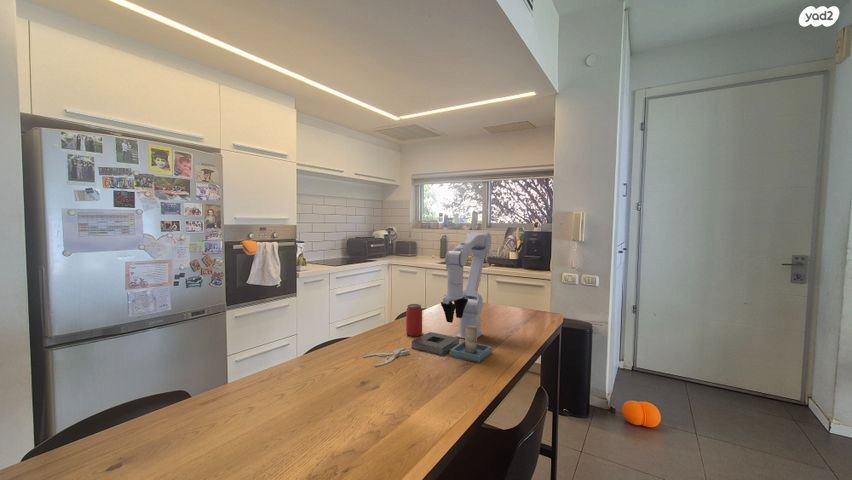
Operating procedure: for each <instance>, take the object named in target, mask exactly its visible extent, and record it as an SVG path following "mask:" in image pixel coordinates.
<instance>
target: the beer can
mask: <svg viewBox="0 0 852 480" xmlns="http://www.w3.org/2000/svg"><path fill="white" fill-rule="evenodd" d="M405 314H406V316H405V317H406V318H405V319H406V320H405V321H406V322H405V323H406V324H405V331H406V332H405V334H406V335H407V336H411V337H420V336H422V334H423V308H422V305H421V304H418V303H411V304H408V305H407V307H406V311H405Z"/></svg>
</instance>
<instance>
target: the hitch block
mask: <svg viewBox="0 0 852 480" xmlns="http://www.w3.org/2000/svg"><path fill="white" fill-rule="evenodd" d="M458 344H460V338H459V337H456V336H452V335H447V334H443V333H437V332H432V331H429V332H427V333H425V334H423V335H420V336H418V338H417V337H416V339H414V340H411V349H414V350H418V351H422V352H426V353H430V354H435V355H438V356H443V355H445V354H447V353H448V352H450V349H452V348H453V347H455V346H457V345H458Z"/></svg>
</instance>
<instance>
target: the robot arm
mask: <svg viewBox="0 0 852 480" xmlns="http://www.w3.org/2000/svg"><path fill="white" fill-rule="evenodd" d="M465 235H466V236H465V241H461V242H459V243H458V245H457V246H455V248H454V249H453V250H448V252H446V254H445V258H444V261H445V262H444V263H445V265H446V267H445V268H446V271H447V282H446V283H447V286H446V289H447V292H446V293H445V294H444V297H442V301H441V302H440V306H441V308H442V310H443V313H444V315H445V319H446V323H450V324H451V323H453V321H454V317H456V318H457V319H459V333H458V334H457V333H456V335H455V337H457V338H459V339H460V338H461V339H465V333H466V326H476V327H477V338H479V337H481V336H482V335H483V334H484V333H483V332H482V331H481V326H482V323H481V322H482V321H481V320H482V319H481V316H480V315H481V314H482V312H483V301H484V299H483V297H482V295H481V294H480V293H479V292H478V290H479V287H480V282H481V276H482V273H483V272H482V271H483V266H484V264H485V263H484V262H485V259H486V256H487V255H489V253H490V251H491V247H492V246H491V245H492V235H491V233H490V232H471V231H468V232H467V233H466V234H465ZM470 255H472V260H471V264H470V269H469V274H468V277H467V278H468V279H467V284H466V287H465V290H464V267H465V266H466V264H467V261H468V257H469V256H470ZM454 315H455V316H454Z"/></svg>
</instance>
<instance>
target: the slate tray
mask: <svg viewBox="0 0 852 480" xmlns="http://www.w3.org/2000/svg"><path fill="white" fill-rule="evenodd" d="M492 350H493V347H492V346H491V345H487V344H483V343H482V344H481V343H477V353H476V354H470V353H466V352H465V340H463V341H461V342H459V344H458V345H457V346H455V347H453V348H452V349H450V351H449V356H450V357H453V358H457V359H461V360H465V361H469V362H473V363H479V364H480V363H481V362H483V361H484V360H485V359H486V358H488V356H489V355H491V354H492Z"/></svg>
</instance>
